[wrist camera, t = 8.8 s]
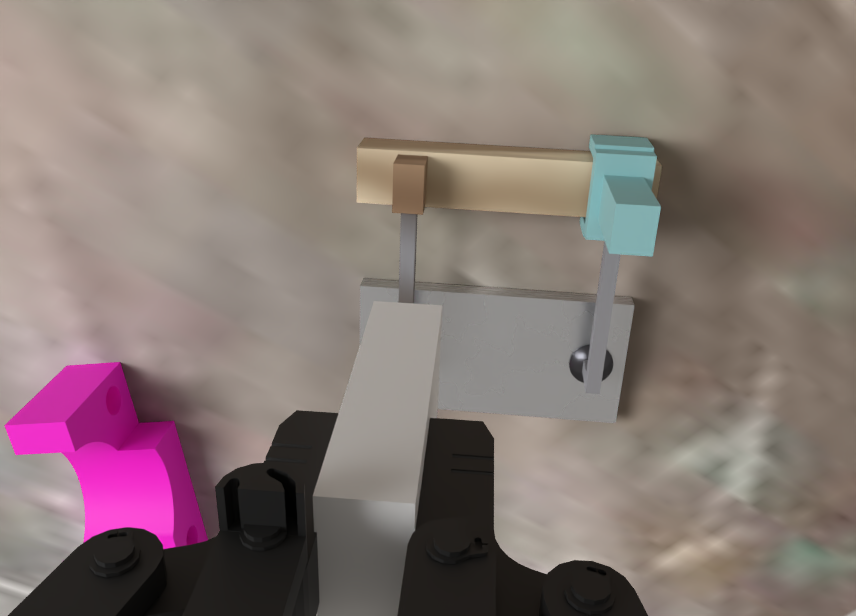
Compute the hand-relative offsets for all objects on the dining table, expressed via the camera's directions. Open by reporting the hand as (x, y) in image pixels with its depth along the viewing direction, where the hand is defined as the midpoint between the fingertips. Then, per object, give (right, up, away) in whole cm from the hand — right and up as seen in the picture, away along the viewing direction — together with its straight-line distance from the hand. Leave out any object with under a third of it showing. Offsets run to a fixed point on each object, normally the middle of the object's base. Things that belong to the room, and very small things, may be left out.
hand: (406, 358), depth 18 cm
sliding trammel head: (+10, +4, +28) cm, 31 cm away
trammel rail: (+5, +4, +29) cm, 30 cm away
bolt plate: (+4, -1, +32) cm, 32 cm away
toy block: (-19, -9, +38) cm, 44 cm away
